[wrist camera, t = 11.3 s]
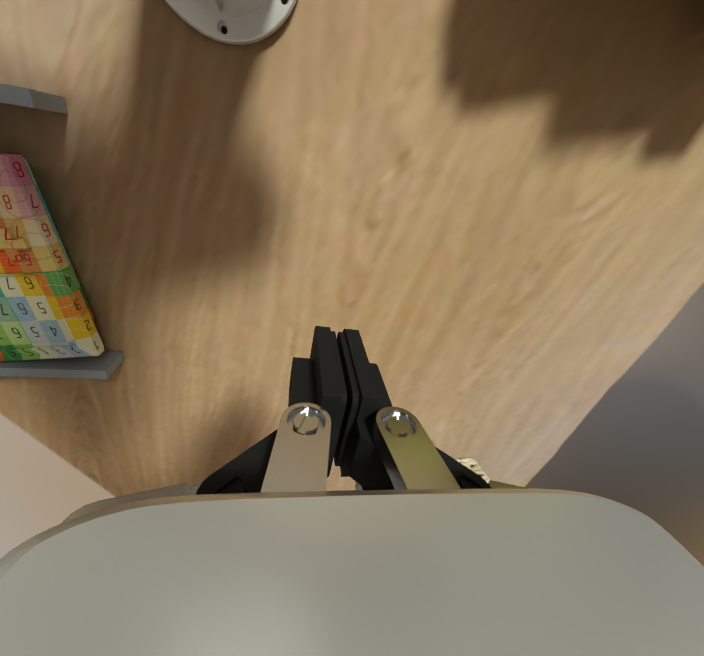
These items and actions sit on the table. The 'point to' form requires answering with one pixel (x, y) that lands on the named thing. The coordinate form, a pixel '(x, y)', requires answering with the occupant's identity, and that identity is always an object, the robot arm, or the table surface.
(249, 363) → the table surface
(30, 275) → the puzzle game
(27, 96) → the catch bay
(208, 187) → the table surface
